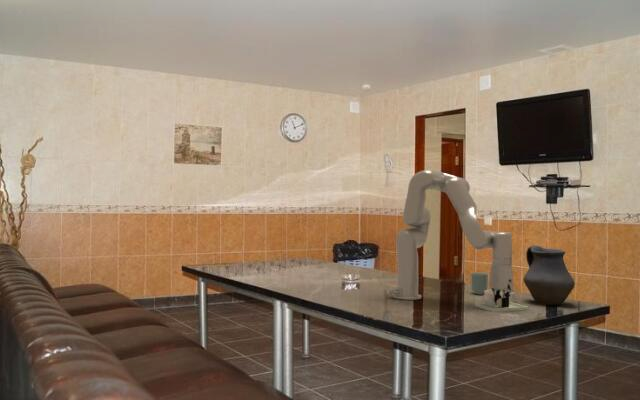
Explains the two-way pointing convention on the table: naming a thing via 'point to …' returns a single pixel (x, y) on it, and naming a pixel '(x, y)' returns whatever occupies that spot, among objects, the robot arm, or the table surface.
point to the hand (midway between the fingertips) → (501, 305)
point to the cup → (479, 282)
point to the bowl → (489, 295)
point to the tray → (496, 309)
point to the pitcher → (547, 276)
